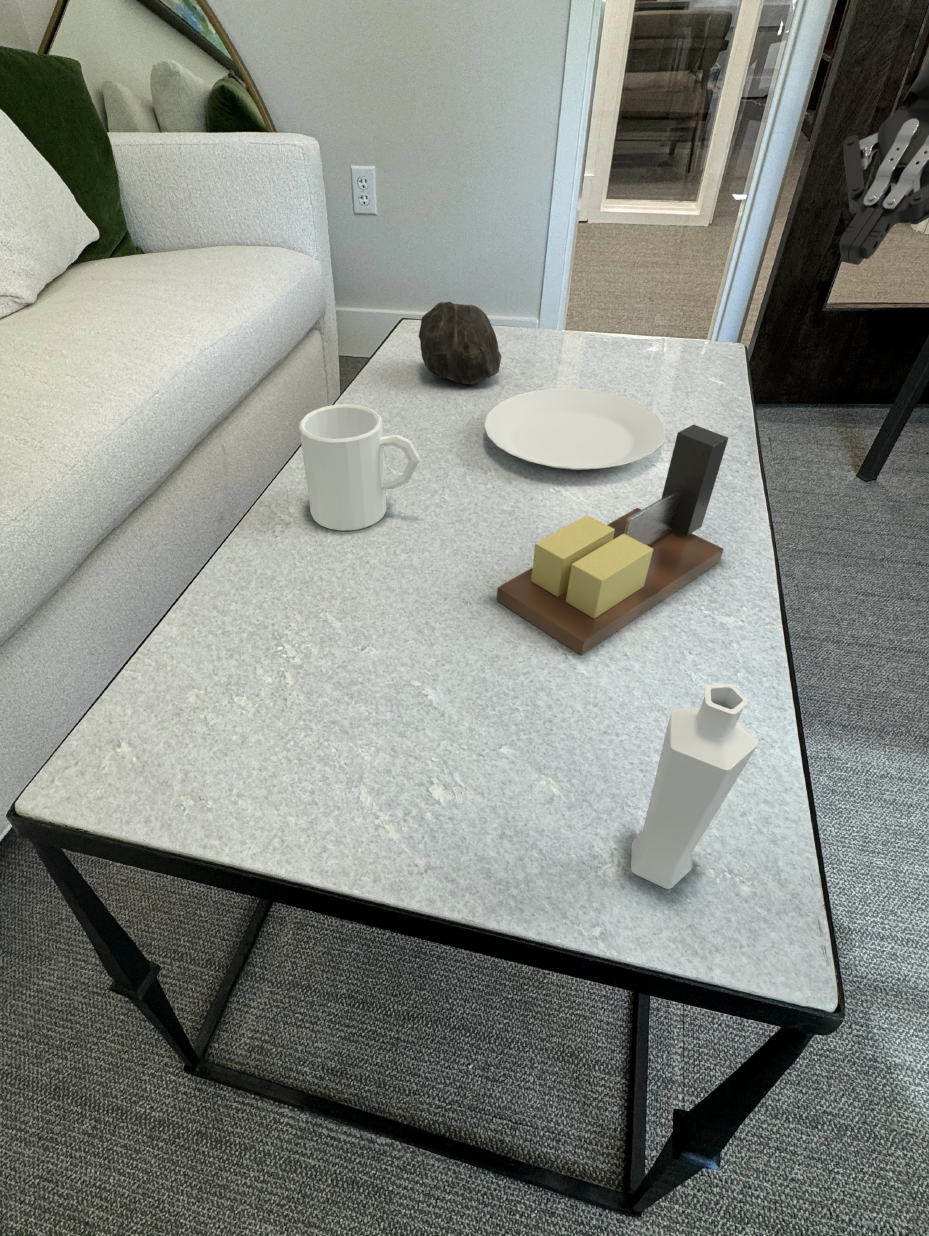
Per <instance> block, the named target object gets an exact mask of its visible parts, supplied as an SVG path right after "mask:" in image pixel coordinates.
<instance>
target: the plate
mask: <svg viewBox="0 0 929 1236" xmlns="http://www.w3.org/2000/svg"><path fill="white" fill-rule="evenodd" d="M483 425H484V426H483V427H484V429H485V432H486V435H487V438H488V439H489V440H491V442H492V443H493V444H494V445H495V446H496V447H497V448H499V449H501V450H503V451H505V452H506V453H508V454H509V455H511V456H514V457H516V458H519V459H521V460H524V461H527V462H529V463H533V464H537V465H541V466H546V467H548V468H549V467H550V468H554V469H560V470H568V471H582V470H583V471H584V470H585V471H586V470H587V471H588V470H598V469H600V470H601V469H607V468H614V467H620V466H623V465H627V464H632V463H634V462H638V461H640V460H642V459H644V458H646V457H647V456H650V455H651V454H653V453H655V452H656V451H657V449H658V448H659V447H660V446H661V445H662V444H663V443H664V440H665V437H666V435H667V434H666V433H667V432H666V428H665V423H664V421H663V420H662V419H661V418H660V417H659V415H658V414H657V413H656V412H655V411H653V410H652V409H650V408H649V407H648V406H647V405H645V404H642V403H641V402H638V401H636V400H634V399H632V398H630V397H626V396H623V395H620V394H616V393H613V392H609V391H603V390H597V389H591V388H580V387H579V388H578V387H552V388H543V389H536V390H530V391H527V392H522V393H519V394H516V395H513V396H511V397H508V398H506V399H504V400H502V401H500V402H499V403H498V404H496V405H495V406H493V407H492V408H491V409H490V410H489V412H488V413H487V415H486V416H485V418H484V424H483Z"/></svg>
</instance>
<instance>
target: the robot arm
mask: <svg viewBox="0 0 929 1236" xmlns="http://www.w3.org/2000/svg"><path fill="white" fill-rule="evenodd" d="M842 150H843V160H844V169H845V170H844V171H845V179H846V188H847V197H848V206H849V213H850V214H853V215H855V216H854V217H853V219H852V220H851V221H850V223H849V225H848V226H847V227H846V229H845V231H844V232H843V234H842V235H841V237H840V238H839V243H838V245H839V253H840V259H841V263H846V264H850V265H851V264H852V265H856V266H860V264H861V263H862V262H863V260H868V259H870V258H871V257H872V256H873V255H874V254H875V252H876V251H877V250H878V248H879V247H880V245H881V244H882V242H883V241H884V239H886V237H887V236H888V234H889V232H890V231H891V229H892V228H893V227H896V226H897V225H898V224H899V223H903V222H909V224H911V225H918V224H920V223H923V222H924V221H926V220H927V219H929V60H928V61H927V62H926V64H925V65H924V66H923V68H922V70H921V71H920V73H919V74H918V75H917V77H916V79H915V80H914V82H913V83H912V85H911V86H910V88H909V89H908V91H907V92H906V94H905V96H904V98H903V100H902V102H901V104H900V106H899V108H898V109H897V111H895V112H894V113H893V115H891V116H889V117H888V118H887V119H886V120H884V122H883V123H882V124H881V126H879V128H878V132H876V133H874V134H871V135H869V136H867V137H864V138H861V139H860V138H859V136H858V135H855V134H854V135H850V136H848V137H847V138H846V139H845V140H844V141H843V143H842ZM877 151H878V164H879V168H878V169H877V172H876V174H875V179H874V180H873V182H872V184H871V186H870V188H866V187H865V181H864V179H865V178H864V172H863V171H864V170H866V169H867V168H868V166H869V164H870V163H871V162H872V157H873V155H874V154H875V153H876V152H877Z"/></svg>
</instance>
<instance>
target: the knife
mask: <svg viewBox="0 0 929 1236" xmlns="http://www.w3.org/2000/svg"><path fill="white" fill-rule="evenodd" d="M728 441H729V437H728V436H726V435H723V434H720V433H717V432H715V431H712V430H709V429H707V428H704V427H703V426H699V425H696V424H691V425H690V426H688V427H686V428H684V429H682V430H680V431H678V432H677V435H676V439H675V443H674V445H673V450H672V455H671V458H670V464H669V467H668V470H667V474H666V478H665V482H664V486H663V490H662V494H661V498H660V499H658V500H656V501H655V502H653V503H651V504H649V505H647V506H646V507H644V508H641V511H639V512H637V513H636V514H634V515H632V516H630V517H629V518H628V519H627V524H626V528H625V533H624V534H625V535H627V536H629V537H631V538H633V539H635V540H637V541H639V542H641V543H643V544H645V545H648V544H650V543H651V542H653V541H655V540H656V539H658V538H660V537H661V536H663V535H665V534H666V533H668V532H669V531H671V530H672V529H674V530H676V531H678V532H680V533H682V534H684V535H686V536H688V535H689V534H691V533H692V534H693V533H694V532H696V531H698V530H699V529H701V528H702V527H703V524H704V520H705V517H706V514H707V511H708V507H709V504H710V501H711V496H712V494H713V490H714V488H715V484H716V480H717V477H718V474H719V470H720V469H721V465H722V461H723V457H724V454H725V451H726V447H727V444H728Z"/></svg>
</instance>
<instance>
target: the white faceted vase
mask: <svg viewBox="0 0 929 1236" xmlns="http://www.w3.org/2000/svg"><path fill="white" fill-rule="evenodd" d="M703 690H704V697H703V699H702V702H701V704H700V706H694V707H693V706H692V707H679V708H672V709H671V710H670V713H669V718H668V721H667V726H666V730H665V735H664V739H663V743H662V748H661V751H660V756H659V760H658V764H657V769H656V771H655V772H656V773H655V776H654V782H653V786H652V790H651V794H650V798H649V802H648V807H647V811H646V815H645V820H644V824H643V828H642V832H641V833H639V835H637V837H635V838H634V840H632V843H631V862H630V871H631V873H632V874H634V875H635V876H638V877H640V878H643V879H645V880H647V881H649V882H651V883H653V884H655V885H657V886H659V887H661V888H663V889H666V890H671V889H672V888H674V887H675V885H677V884H678V883H679V882H680V881H681V880H682V879H683V878H684V877H685V876H686V875H687V874H688V873H690V871H691V870H692V869H693V864H692V862H693V861H692V853H693V852H694V850H695V849H696V847H697V846H698V844H699V842H700V840H701V839H702V837H703V836H704V834H705V832H706V830H707V829H708V828H709V826H710V825H711V823H712V821H713V819H714V818H715V817H716V814H717V812H718V811H719V810H720V808H721V806H722V805H723V803H724V802H725V800H726V798H727V797H728V795H729V793H730V791H731V790H732V788H733V786H734V785H735V783H736V782H737V780H738V778H739V777H740V775H741V773H743V770H744V769H745V767H746V765H747V764H748V762H749V760H750V759H751V758H752V756H753V754H754V753H755V752H756V751H755V750H756V749H757V747H758V746H759V744H760V741H759V739H758V738H757V737H756V736H755V735H754V734H753V733H752V732H751V731H750V730H749V728H747V727H746V726H745V725H744V724H743V723H742V722H741V721H740V720H739V719H740V717H741V715H742V712H743V710H744V708H746V707H747V706H748V705H749V704H750V700H749V698H748V697H747V696H746V695H745V694H744V693H743V692H742V691H741V690H740V689H738V687H737V686H735V685H734V684H732V683H717V684H716V683H715V684H707V685H705V686H704V689H703Z"/></svg>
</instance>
